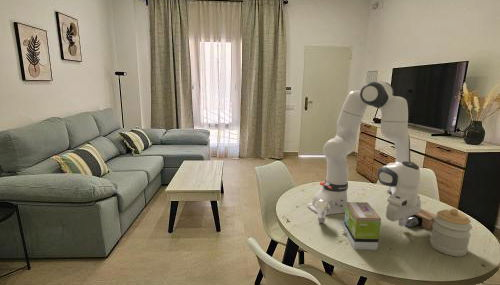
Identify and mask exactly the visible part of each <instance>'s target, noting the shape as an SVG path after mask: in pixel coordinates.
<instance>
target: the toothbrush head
mask: <svg viewBox="0 0 500 285" xmlns="http://www.w3.org/2000/svg"><path fill="white" fill-rule="evenodd" d="M386 189H387V194H389V195H392V194H394V192H396V187H392V186H387V188H386Z"/></svg>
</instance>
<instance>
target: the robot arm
mask: <svg viewBox="0 0 500 285" xmlns="http://www.w3.org/2000/svg"><path fill="white" fill-rule="evenodd" d="M394 94H395V91H394V88H393V86H392V84H390V83H388V82H385V81H380V80H376V81H370V82H368V83H366V84H364V85H363V86H362V88H361V90H359V89H357V90H352V91H350V92H348V95H347V96H346V97H345V100H344V102H343V105H342V107H341V108H340V112H339V115H338V119H337V120H336V134H335V136H334V137H332V138H330V139H328V140H327V141H326V142H325V143H324V145H323V147H322V153H323V155H324V156H325V159H326V160H325V161H326V177H325V178H326V179H325V181H320V182H319V186H322V187H321V188H320V189H319V190H318V191H317V192H315V194H314V195H313V196H312V200H311V202H308V203H307V207H308V209H310V210H311V211H312V212H315V213H316V214H317V211H316V209H315V204H316V202H317V201H318V200H320V199H324V200H326V201H327V202H328V203H329V205H330V209H329V212H328V213H327V214H326V216H330V215H336V214H345V210H346V202H348V188H349V182H348V181H349V180H348V179H349V166H348V162H347V158H348V155H349V154H352V152H353V151H354V149H355V148H356V144H357V143H356V142H357V137H358V133H359V128H360V125H361V124H362V121H363V118H364V115H365V113H366V109H367V108H368V106H371V107H374V108H377V109H380V111H381V112H380V113H381V117H380V132H381V134H382V136H383V137H385V138H386V139H387V140H389V141H391V142H393V144H394V146H395V162H394V163H393V164H392V163H391V164H387V165H383V166H381V167H379V168H378V169H377V172H376V177H377V180H378V181H379V183H380V184H381V185H383V186H386V187H389V186H392V187H396V192H394V194H390V196H389V197H388V198H387V202H388V204H387V206H386V213H385V217H386V220H389V221H391V222H393V223H394V222H397V221H398V226H400V227H405V225H406V222H407V220H408V218H409V216H412V215H415V214H418V213H419V212H420V210H421V209H422V207H421V206H422V201H421V199H420V198H421V196H420V195H419V190H418V189H419V186H420V180H421V179H420V178H421V169H420V166H419V165H417V163H415V162H411V140H410V138H411V137H410V134H409V129H408V128H409V126H408V123H409V109H408V108H409V106H408V101H407V99H406V98H404V97H402V96H397V95H396V96H395V95H394Z"/></svg>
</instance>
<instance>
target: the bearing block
mask: <svg viewBox="0 0 500 285" xmlns="http://www.w3.org/2000/svg"><path fill="white" fill-rule="evenodd" d="M436 215H437V214H435V213H433V212H431V211H428V210H425V209H423V208H421V210H420V212H419V213H418V214H415V215H412V216H409V218H411V217H414V216H418V217H421V218H423V220H422V224H421V227H420V228H422V229H424V230H427V231H431V230H432V227H433V226H432V225H433V223H434V222H435V221H434V216H436Z"/></svg>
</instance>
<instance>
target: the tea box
mask: <svg viewBox="0 0 500 285" xmlns="http://www.w3.org/2000/svg"><path fill="white" fill-rule="evenodd" d="M343 221H344V225H343V231H344V234H345V235H346V237H347V239H348V241H349V242H350V245H351V246H352V248H353V250H366V251H367V250H368V251H377V250H378V247H379V239H380V238H379V237H380V229H381V223H382V217H381V216H380V215H379V214H378V213H377V212H376V211H375V209H374V208H373V207H372V206H371V205H370V204H369V203H368V202H365V201H364V202H362V201H360V202H357V201H356V202H354V201H351V202H349V201H347V202H346V210H345V213H344V220H343Z"/></svg>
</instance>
